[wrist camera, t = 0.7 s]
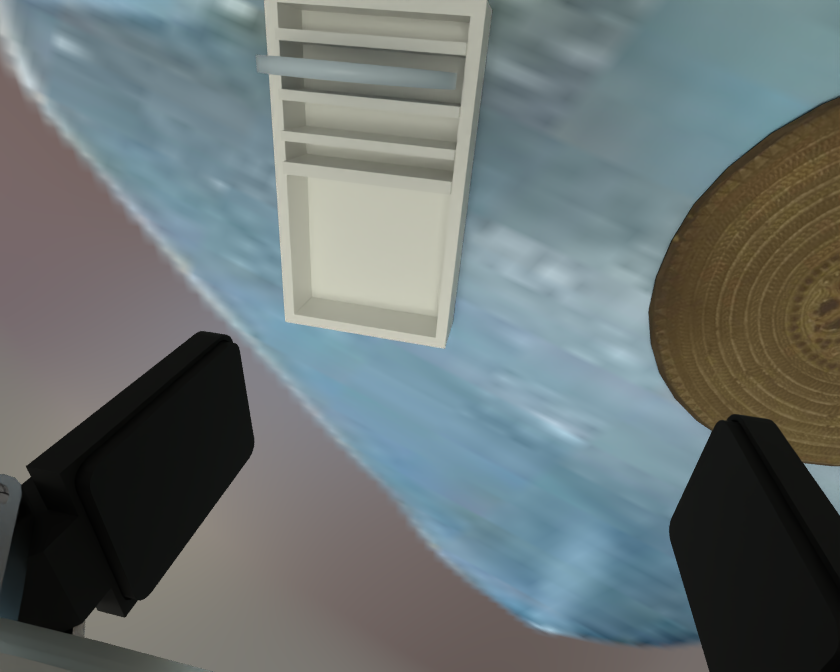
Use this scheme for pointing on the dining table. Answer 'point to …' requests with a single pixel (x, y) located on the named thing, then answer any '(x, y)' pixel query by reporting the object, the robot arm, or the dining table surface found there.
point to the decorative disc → (761, 291)
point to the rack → (374, 158)
